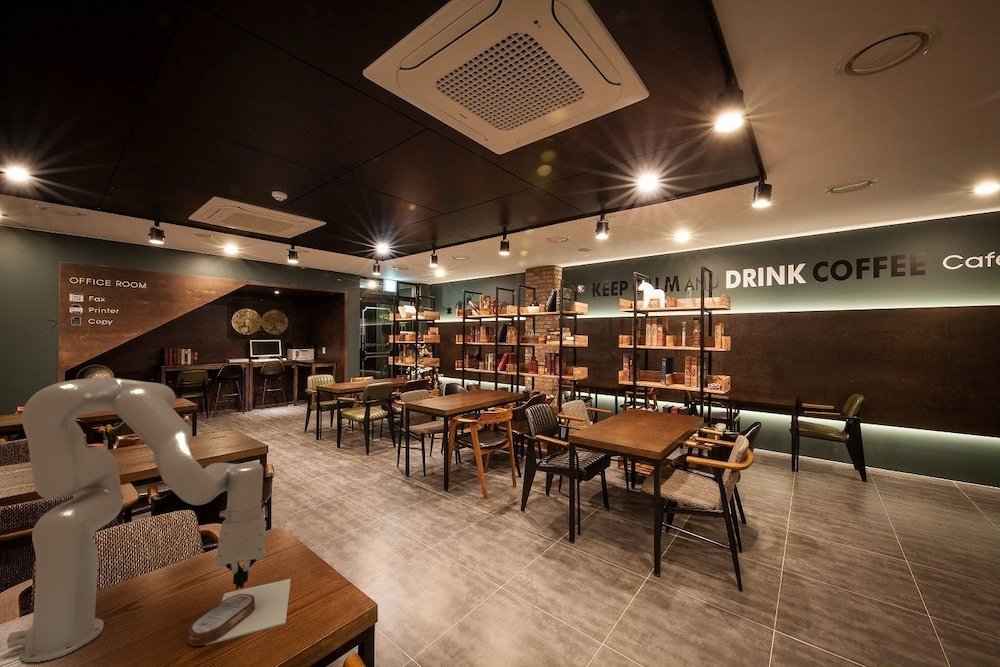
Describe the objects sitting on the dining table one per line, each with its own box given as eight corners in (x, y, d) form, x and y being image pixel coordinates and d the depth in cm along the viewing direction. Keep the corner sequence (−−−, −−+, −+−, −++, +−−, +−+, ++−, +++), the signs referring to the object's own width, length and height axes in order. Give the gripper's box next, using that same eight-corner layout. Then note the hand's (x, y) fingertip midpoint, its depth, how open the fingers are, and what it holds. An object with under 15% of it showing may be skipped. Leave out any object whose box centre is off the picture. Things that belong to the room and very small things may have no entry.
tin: (177, 642, 87) (207, 651, 85) (179, 628, 87) (209, 636, 85) (235, 600, 102) (262, 607, 100) (236, 588, 102) (263, 595, 100)
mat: (205, 645, 87) (205, 643, 87) (224, 594, 105) (224, 593, 105) (285, 624, 94) (285, 622, 94) (290, 580, 112) (290, 578, 112)
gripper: (204, 523, 93) (200, 602, 92) (275, 513, 99) (272, 586, 98) (212, 512, 99) (208, 584, 98) (278, 503, 106) (275, 571, 105)
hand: (240, 585), depth 98 cm, fingers closed
